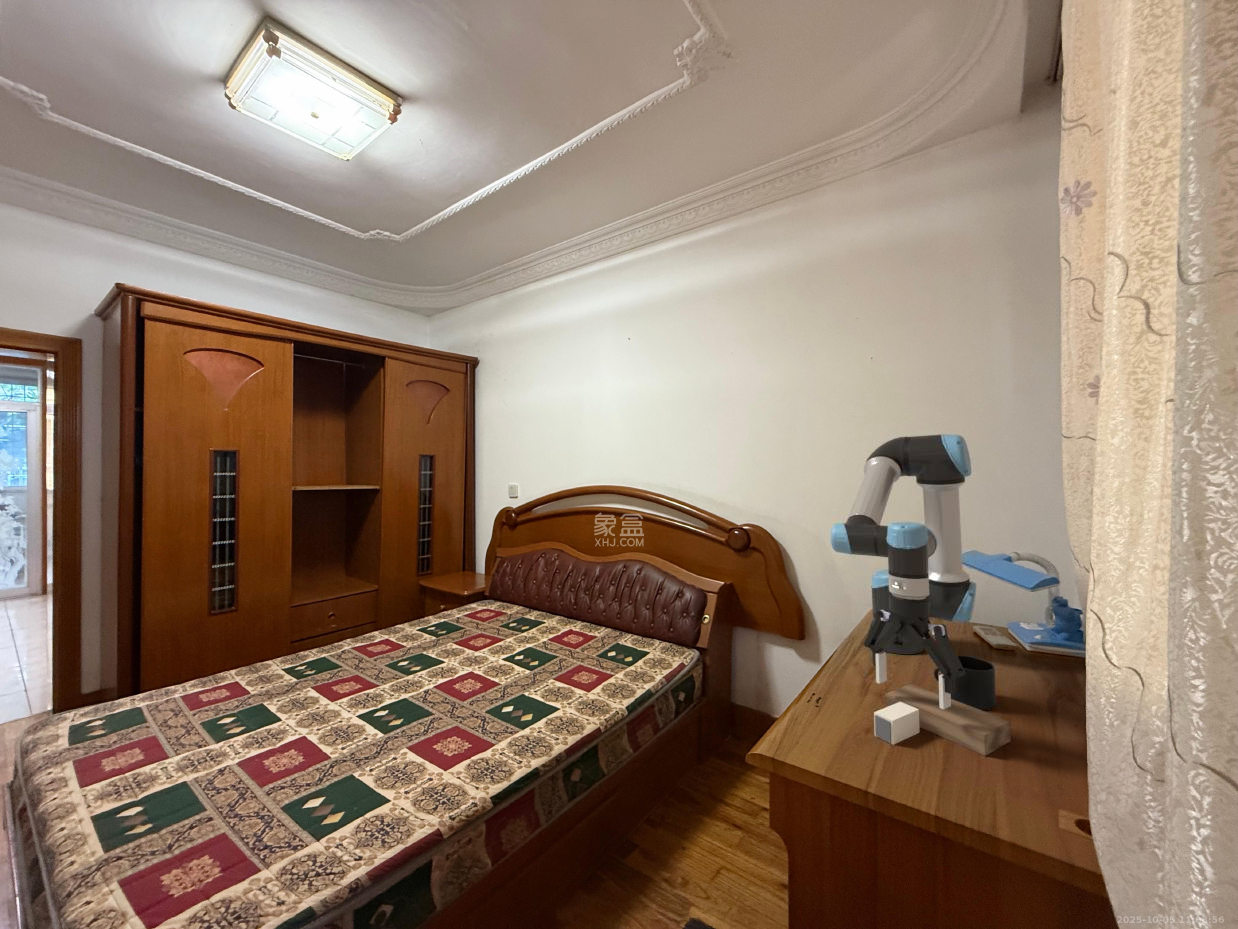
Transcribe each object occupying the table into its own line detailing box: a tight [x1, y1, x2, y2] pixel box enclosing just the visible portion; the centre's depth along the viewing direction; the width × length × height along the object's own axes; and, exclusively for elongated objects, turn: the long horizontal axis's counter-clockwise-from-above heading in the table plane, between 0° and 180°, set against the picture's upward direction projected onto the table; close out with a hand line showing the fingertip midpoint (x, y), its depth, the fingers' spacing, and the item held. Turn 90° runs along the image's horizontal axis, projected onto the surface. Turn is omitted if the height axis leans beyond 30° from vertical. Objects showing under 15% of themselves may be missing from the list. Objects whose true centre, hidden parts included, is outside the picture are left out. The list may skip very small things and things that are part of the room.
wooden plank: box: [884, 683, 1012, 757], centre depth 105 cm, size 10×20×4 cm, turn 28°
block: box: [873, 702, 921, 746], centre depth 102 cm, size 5×4×9 cm
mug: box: [933, 654, 997, 711], centre depth 116 cm, size 9×12×9 cm
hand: (911, 693), depth 105 cm, fingers open, 13 cm apart
